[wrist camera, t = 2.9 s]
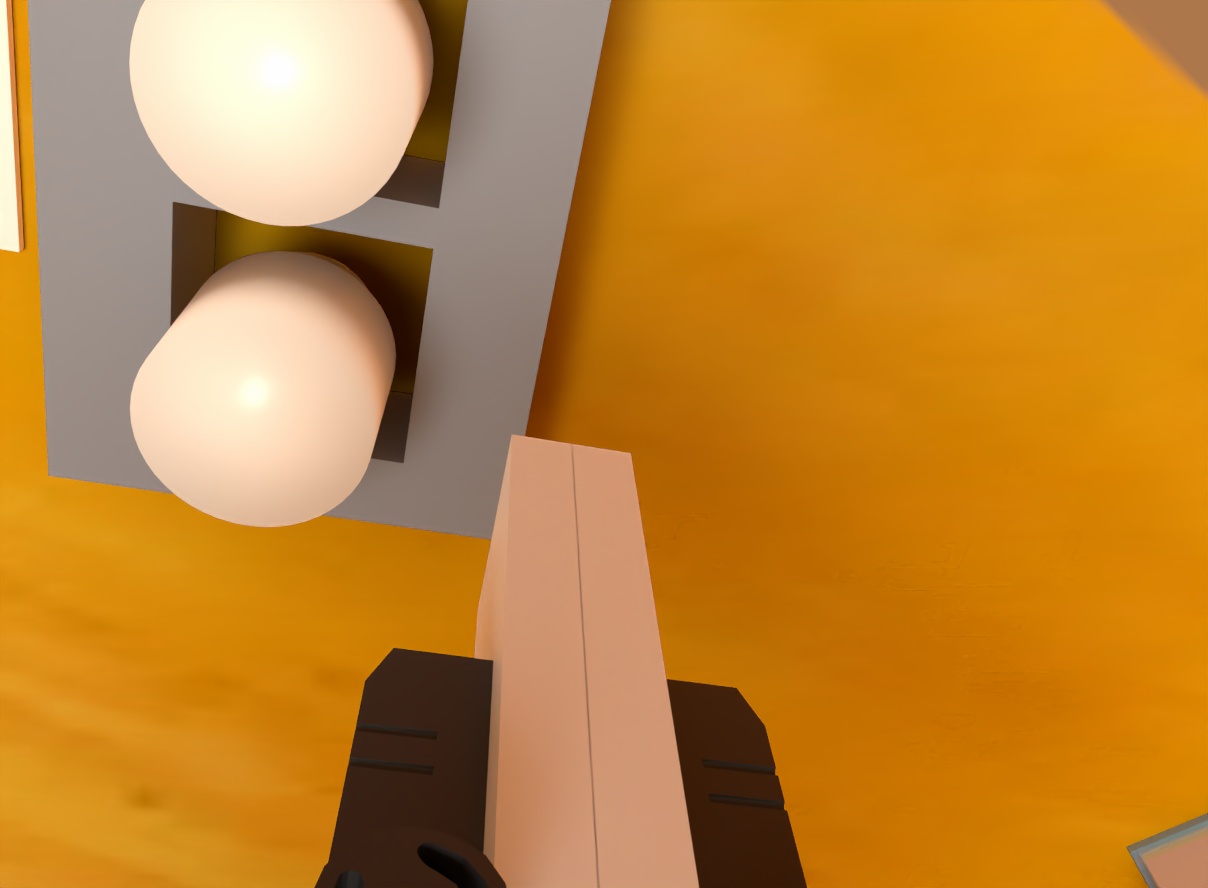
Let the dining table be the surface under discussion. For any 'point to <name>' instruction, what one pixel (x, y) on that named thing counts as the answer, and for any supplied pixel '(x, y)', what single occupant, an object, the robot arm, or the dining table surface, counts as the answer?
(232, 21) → the button mid
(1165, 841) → the book
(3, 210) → the card
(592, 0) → the gray compartment tray
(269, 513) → the button
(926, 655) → the dining table surface
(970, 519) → the dining table surface
